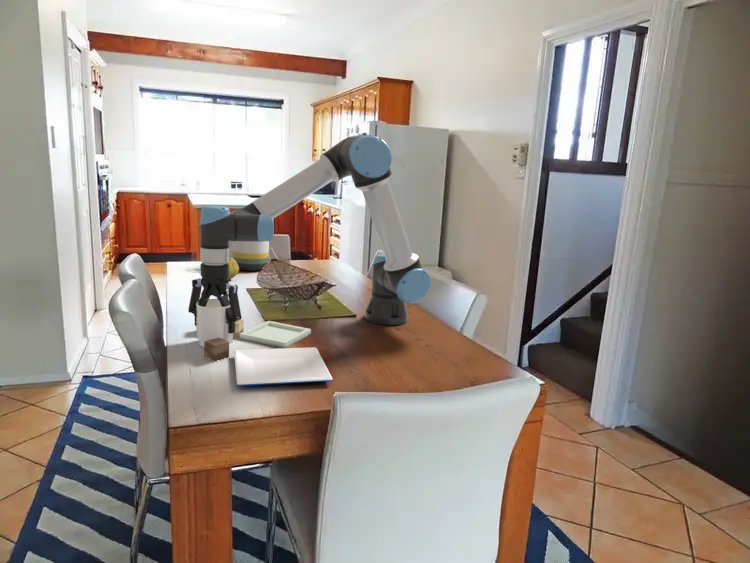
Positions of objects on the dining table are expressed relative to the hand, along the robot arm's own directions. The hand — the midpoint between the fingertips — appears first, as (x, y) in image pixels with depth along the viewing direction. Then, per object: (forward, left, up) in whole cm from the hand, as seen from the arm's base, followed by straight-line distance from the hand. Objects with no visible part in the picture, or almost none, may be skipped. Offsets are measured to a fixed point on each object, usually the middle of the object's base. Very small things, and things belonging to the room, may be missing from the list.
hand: (214, 340), depth 148 cm
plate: (-26, +7, -1) cm, 27 cm away
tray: (-11, -15, -1) cm, 19 cm away
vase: (+52, -93, -1) cm, 107 cm away
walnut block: (-7, +8, -1) cm, 11 cm away
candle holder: (0, 0, -1) cm, 1 cm away
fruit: (+47, -67, -1) cm, 82 cm away
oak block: (0, -9, -1) cm, 9 cm away
